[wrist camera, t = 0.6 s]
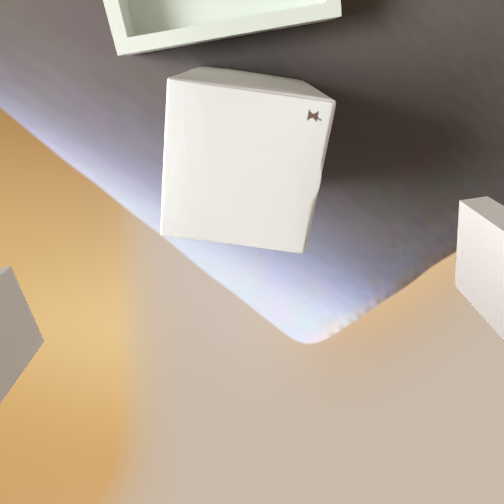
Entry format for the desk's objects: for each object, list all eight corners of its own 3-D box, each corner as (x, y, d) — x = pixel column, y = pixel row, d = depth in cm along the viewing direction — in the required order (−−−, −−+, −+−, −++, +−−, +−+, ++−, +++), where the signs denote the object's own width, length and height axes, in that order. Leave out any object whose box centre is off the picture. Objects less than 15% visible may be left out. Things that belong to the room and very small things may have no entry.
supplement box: (196, 62, 34) (163, 69, 21) (305, 79, 35) (342, 96, 21) (188, 172, 38) (155, 238, 25) (286, 185, 39) (307, 257, 25)
